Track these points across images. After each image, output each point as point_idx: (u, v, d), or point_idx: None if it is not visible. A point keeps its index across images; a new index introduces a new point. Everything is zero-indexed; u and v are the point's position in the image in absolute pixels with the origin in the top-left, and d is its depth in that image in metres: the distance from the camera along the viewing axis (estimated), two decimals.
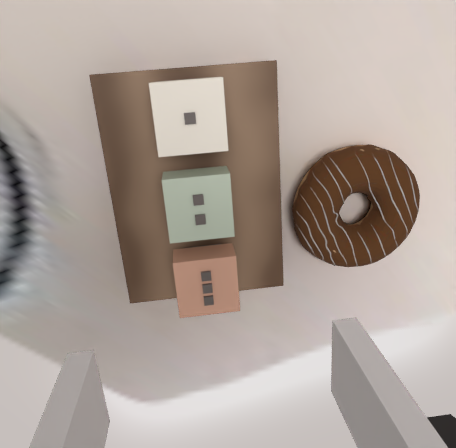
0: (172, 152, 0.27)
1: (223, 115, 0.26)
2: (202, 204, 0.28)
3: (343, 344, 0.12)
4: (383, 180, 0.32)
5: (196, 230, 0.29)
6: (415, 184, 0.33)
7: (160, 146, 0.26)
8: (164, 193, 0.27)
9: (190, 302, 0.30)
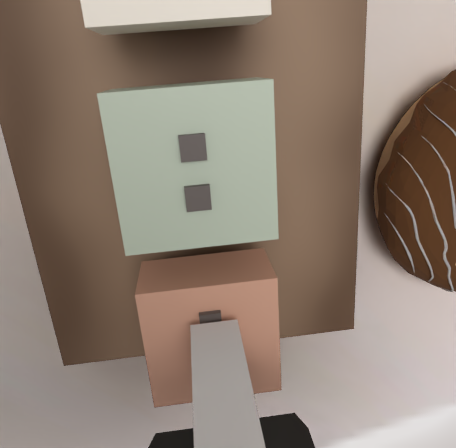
0: (122, 15, 0.10)
1: None
2: (203, 159, 0.11)
3: (216, 345, 0.12)
4: None
5: (188, 224, 0.12)
6: None
7: None
8: (106, 130, 0.11)
9: (176, 376, 0.14)
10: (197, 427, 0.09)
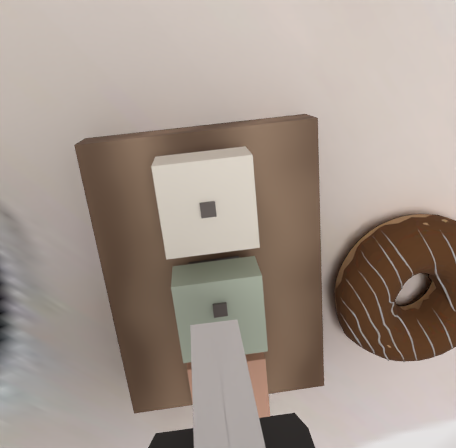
0: (184, 253, 0.20)
1: (253, 203, 0.19)
2: (225, 315, 0.21)
3: (216, 345, 0.12)
4: (454, 262, 0.25)
5: None
6: None
7: (168, 246, 0.20)
8: (175, 303, 0.21)
9: None
10: (197, 427, 0.09)
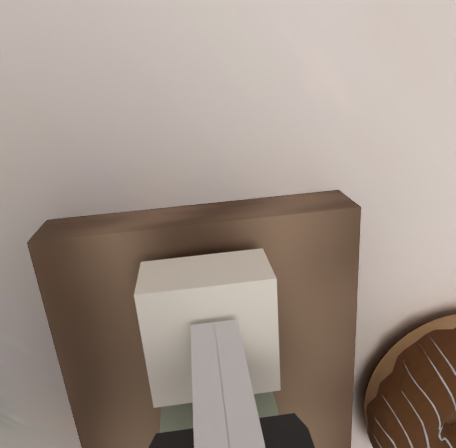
0: (178, 399, 0.15)
1: (274, 338, 0.14)
2: None
3: (216, 345, 0.12)
4: None
5: None
6: None
7: (157, 391, 0.14)
8: None
9: None
10: (197, 427, 0.09)
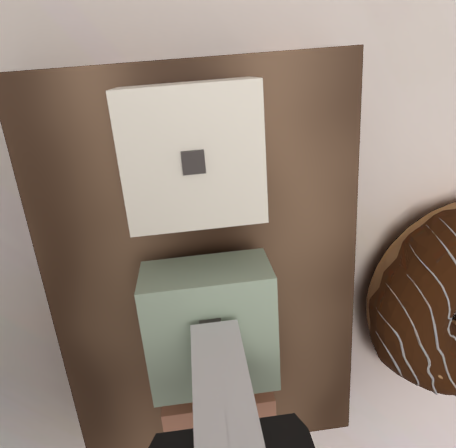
0: (157, 228, 0.13)
1: (261, 155, 0.13)
2: None
3: (216, 345, 0.12)
4: None
5: None
6: None
7: (133, 217, 0.13)
8: (141, 319, 0.13)
9: None
10: (197, 427, 0.09)
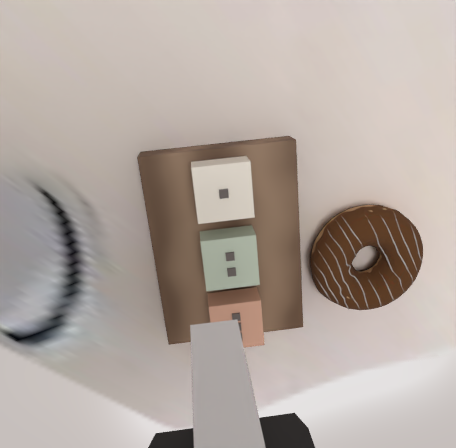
0: (209, 220, 0.33)
1: (250, 190, 0.32)
2: (233, 260, 0.34)
3: (216, 345, 0.12)
4: (390, 237, 0.37)
5: (228, 280, 0.35)
6: (418, 239, 0.37)
7: (199, 215, 0.33)
8: (202, 252, 0.34)
9: None
10: (197, 427, 0.09)
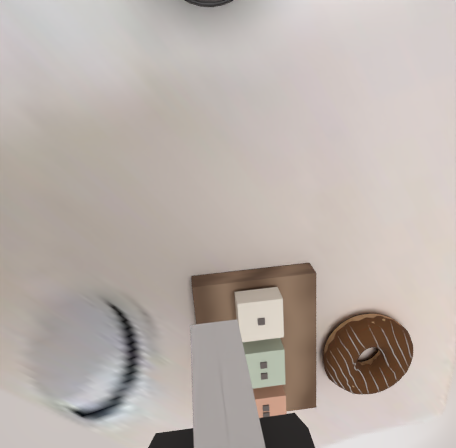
0: (248, 339, 0.42)
1: (281, 318, 0.42)
2: (266, 367, 0.43)
3: (216, 345, 0.12)
4: (387, 343, 0.46)
5: (261, 381, 0.44)
6: (410, 343, 0.47)
7: (241, 336, 0.42)
8: None
9: None
10: (197, 427, 0.09)
